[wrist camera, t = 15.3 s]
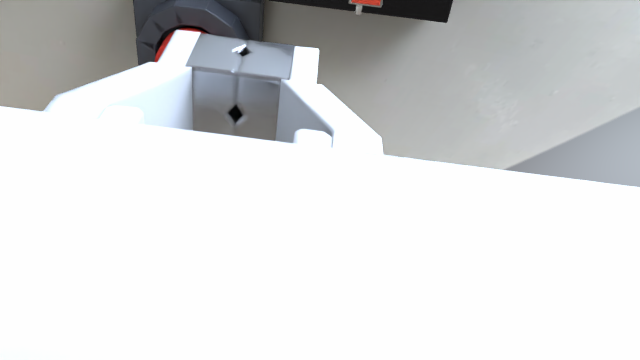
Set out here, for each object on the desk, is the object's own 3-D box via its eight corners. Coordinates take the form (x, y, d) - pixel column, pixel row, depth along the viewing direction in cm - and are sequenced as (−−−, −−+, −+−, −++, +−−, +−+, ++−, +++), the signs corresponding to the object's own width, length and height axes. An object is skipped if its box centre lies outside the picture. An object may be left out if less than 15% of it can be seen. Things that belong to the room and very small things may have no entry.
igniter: (150, 71, 41) (133, 100, 37) (141, -26, 36) (121, -3, 33) (260, 84, 41) (253, 113, 38) (265, -10, 36) (257, 14, 33)
